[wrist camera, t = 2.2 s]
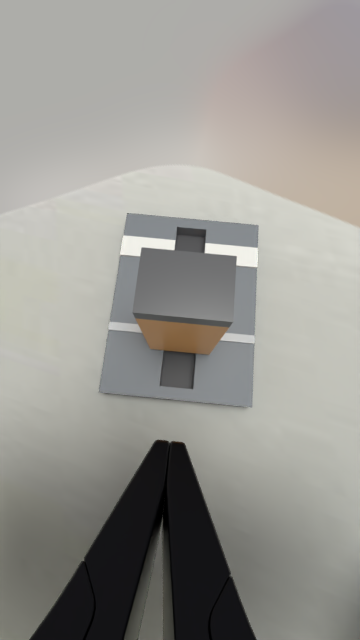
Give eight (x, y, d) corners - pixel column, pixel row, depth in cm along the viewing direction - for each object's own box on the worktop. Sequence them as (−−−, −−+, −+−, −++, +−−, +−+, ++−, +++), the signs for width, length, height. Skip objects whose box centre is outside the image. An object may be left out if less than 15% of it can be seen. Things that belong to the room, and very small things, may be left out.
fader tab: (207, 357, 19) (233, 322, 11) (152, 352, 19) (132, 312, 11) (209, 319, 20) (236, 256, 11) (156, 314, 20) (141, 247, 11)
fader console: (247, 407, 19) (252, 407, 18) (103, 392, 19) (97, 392, 18) (253, 234, 22) (258, 223, 21) (129, 222, 22) (126, 211, 21)
